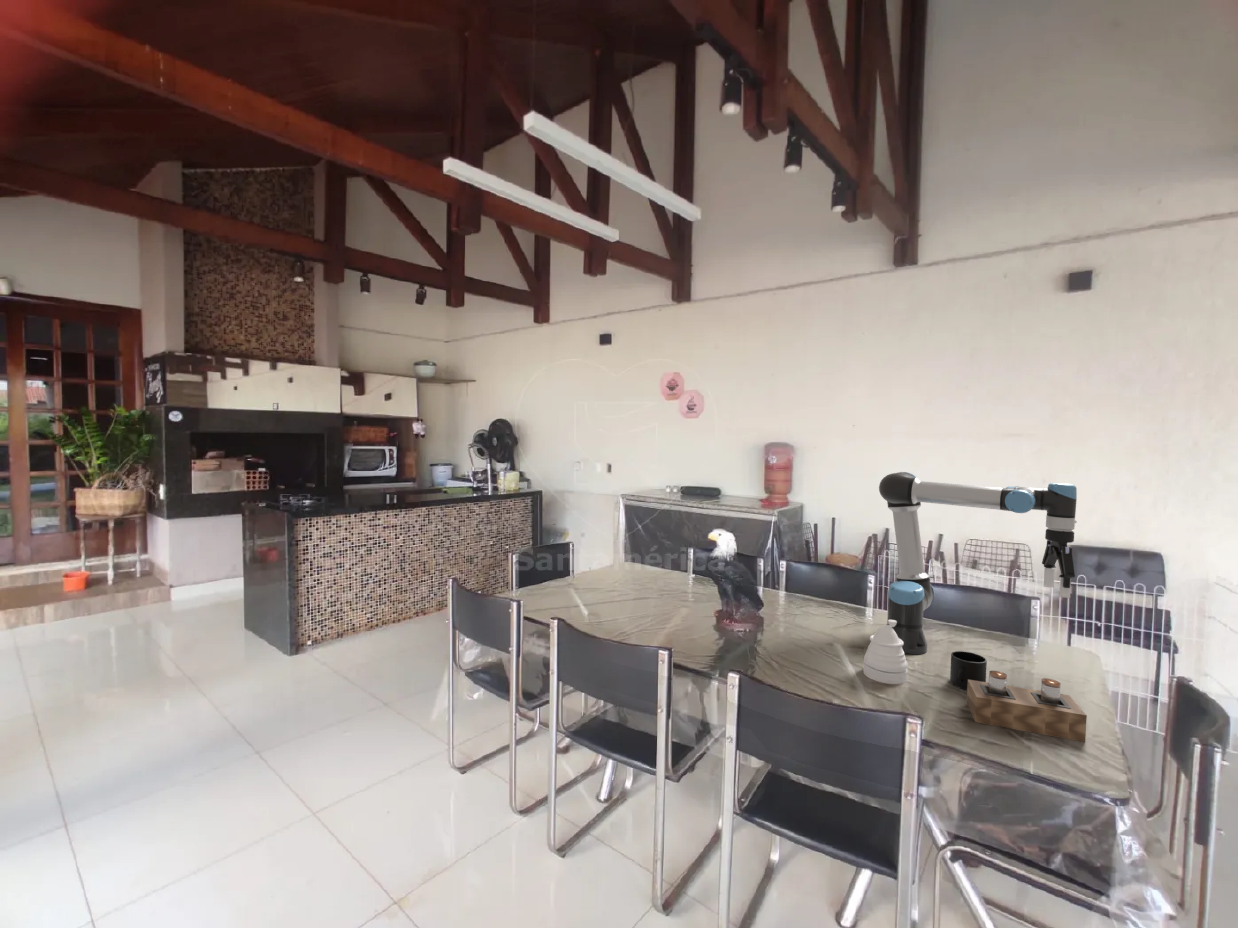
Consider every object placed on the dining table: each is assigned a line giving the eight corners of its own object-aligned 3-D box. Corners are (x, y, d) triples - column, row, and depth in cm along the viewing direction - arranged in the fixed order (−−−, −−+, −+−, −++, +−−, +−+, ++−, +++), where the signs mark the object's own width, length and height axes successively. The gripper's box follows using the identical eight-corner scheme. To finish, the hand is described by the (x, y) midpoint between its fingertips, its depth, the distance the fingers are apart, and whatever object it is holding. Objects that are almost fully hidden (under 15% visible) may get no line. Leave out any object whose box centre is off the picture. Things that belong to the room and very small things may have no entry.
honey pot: (889, 666, 186) (891, 614, 186) (916, 682, 174) (918, 626, 173) (855, 668, 184) (857, 615, 183) (879, 685, 172) (881, 628, 171)
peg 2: (1043, 708, 147) (1044, 683, 147) (1038, 702, 151) (1039, 677, 150) (1061, 711, 145) (1062, 685, 145) (1056, 705, 149) (1057, 679, 149)
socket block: (975, 721, 150) (976, 696, 149) (966, 702, 161) (967, 678, 160) (1085, 741, 140) (1086, 714, 140) (1068, 720, 151) (1069, 694, 151)
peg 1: (990, 699, 152) (991, 674, 151) (986, 693, 155) (987, 669, 155) (1007, 702, 150) (1008, 677, 150) (1003, 696, 154) (1004, 671, 153)
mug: (941, 685, 172) (943, 657, 171) (956, 675, 179) (957, 648, 179) (976, 697, 164) (977, 667, 164) (989, 686, 172) (991, 657, 172)
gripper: (1090, 536, 171) (1086, 603, 172) (1058, 524, 194) (1055, 584, 195) (1061, 534, 174) (1057, 600, 175) (1033, 523, 197) (1029, 581, 198)
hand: (1056, 591), depth 185 cm, fingers open, 13 cm apart
